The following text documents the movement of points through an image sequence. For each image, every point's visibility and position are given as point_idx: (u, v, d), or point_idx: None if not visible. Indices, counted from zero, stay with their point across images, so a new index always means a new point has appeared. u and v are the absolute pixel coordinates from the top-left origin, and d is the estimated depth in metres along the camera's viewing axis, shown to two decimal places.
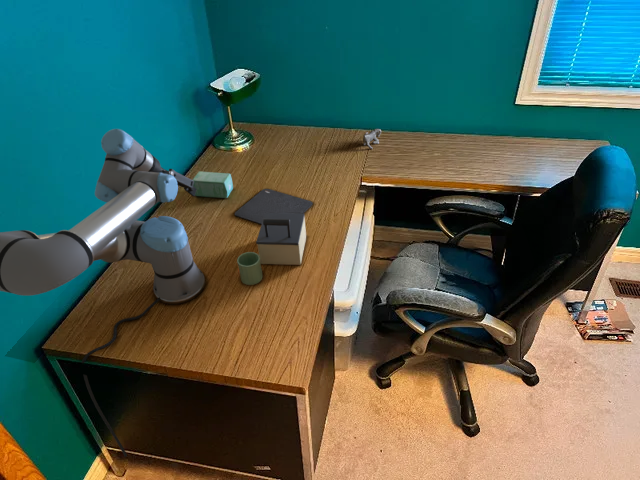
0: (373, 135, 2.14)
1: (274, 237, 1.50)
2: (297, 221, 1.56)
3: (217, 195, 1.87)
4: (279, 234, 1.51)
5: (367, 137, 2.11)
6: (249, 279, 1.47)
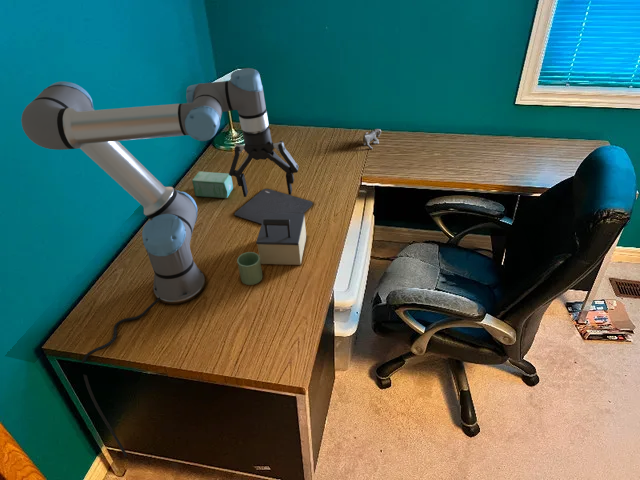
0: (373, 135, 2.14)
1: (274, 237, 1.50)
2: (297, 221, 1.56)
3: (217, 195, 1.87)
4: (279, 234, 1.51)
5: (367, 137, 2.11)
6: (249, 279, 1.47)
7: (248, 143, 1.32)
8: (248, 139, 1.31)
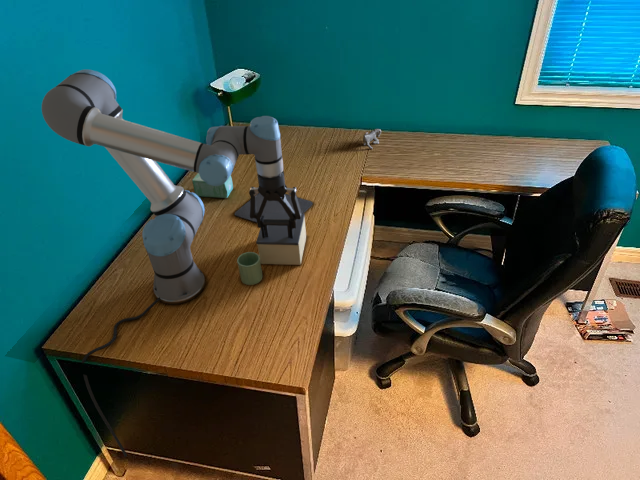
0: (373, 135, 2.14)
1: (274, 237, 1.50)
2: (297, 221, 1.56)
3: (217, 195, 1.87)
4: (279, 234, 1.51)
5: (367, 137, 2.11)
6: (249, 279, 1.47)
7: (262, 186, 1.36)
8: (263, 182, 1.35)
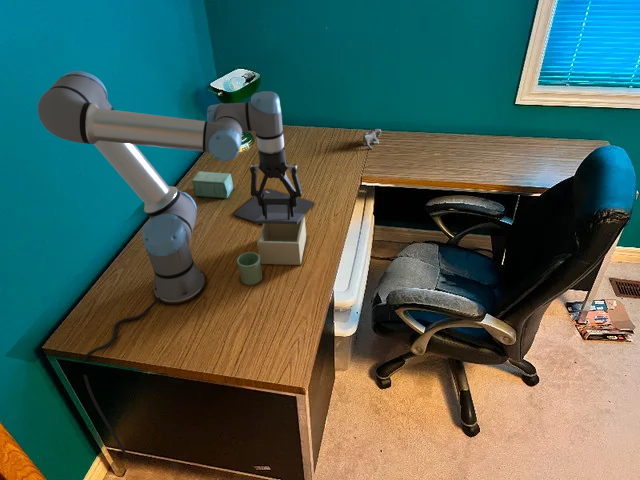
0: (373, 135, 2.14)
1: (273, 219, 1.48)
2: (297, 215, 1.56)
3: (217, 195, 1.87)
4: (278, 218, 1.49)
5: (367, 137, 2.11)
6: (249, 279, 1.47)
7: (263, 162, 1.36)
8: (263, 158, 1.35)
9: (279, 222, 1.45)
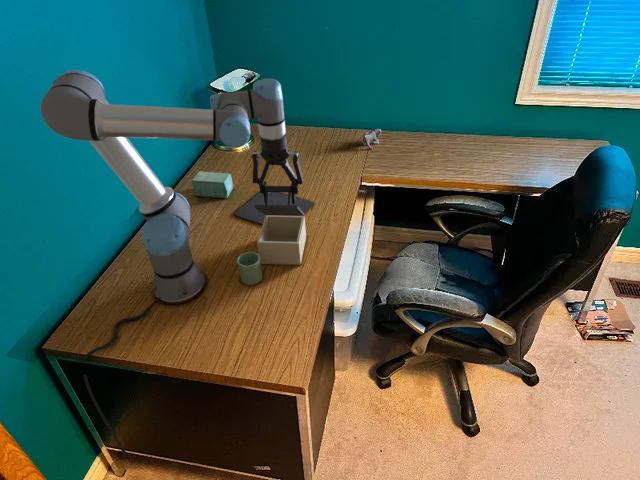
0: (373, 135, 2.14)
1: None
2: None
3: (217, 195, 1.87)
4: None
5: (367, 137, 2.11)
6: (249, 279, 1.47)
7: (265, 149, 1.38)
8: (265, 145, 1.37)
9: (279, 206, 1.45)
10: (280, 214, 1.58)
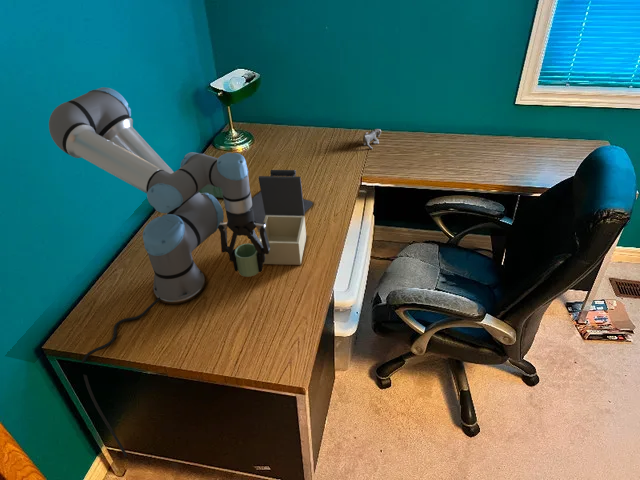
0: (373, 135, 2.14)
1: None
2: None
3: (217, 195, 1.87)
4: None
5: (367, 137, 2.11)
6: (246, 271, 1.45)
7: (231, 222, 1.34)
8: (231, 218, 1.33)
9: (283, 177, 1.49)
10: (280, 209, 1.58)
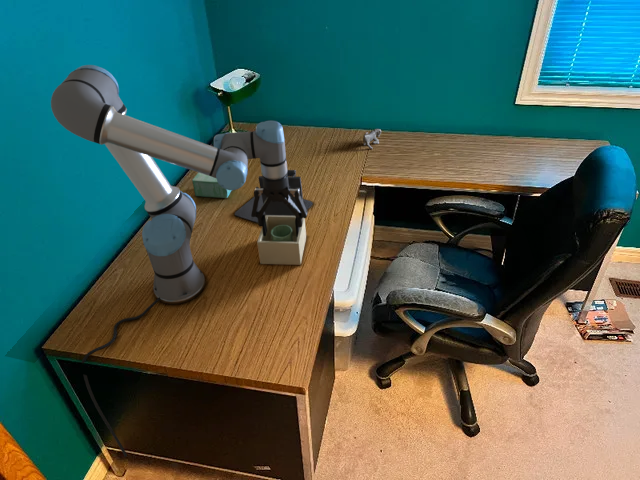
0: (373, 135, 2.14)
1: None
2: None
3: (217, 195, 1.87)
4: None
5: (367, 137, 2.11)
6: None
7: (267, 187, 1.42)
8: (267, 184, 1.41)
9: None
10: (280, 209, 1.58)
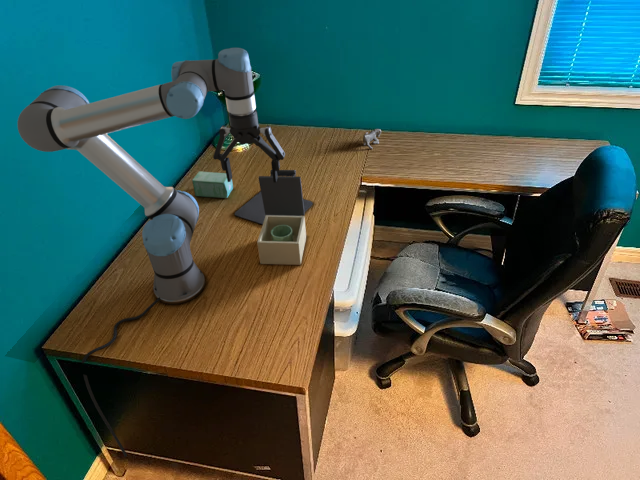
0: (373, 135, 2.14)
1: None
2: None
3: (217, 195, 1.87)
4: None
5: (367, 137, 2.11)
6: None
7: (233, 126, 1.28)
8: (234, 121, 1.27)
9: (283, 177, 1.49)
10: (280, 209, 1.58)
